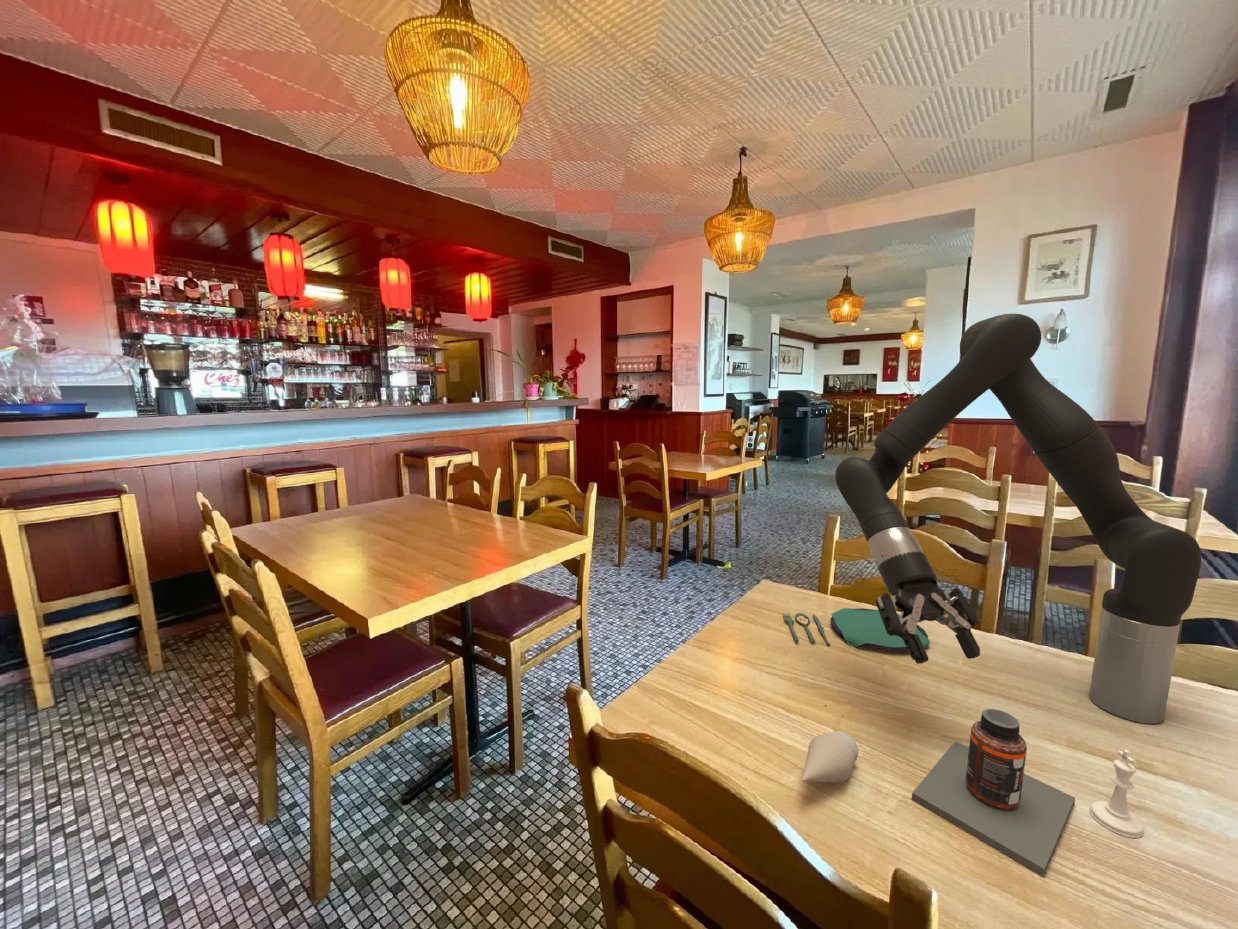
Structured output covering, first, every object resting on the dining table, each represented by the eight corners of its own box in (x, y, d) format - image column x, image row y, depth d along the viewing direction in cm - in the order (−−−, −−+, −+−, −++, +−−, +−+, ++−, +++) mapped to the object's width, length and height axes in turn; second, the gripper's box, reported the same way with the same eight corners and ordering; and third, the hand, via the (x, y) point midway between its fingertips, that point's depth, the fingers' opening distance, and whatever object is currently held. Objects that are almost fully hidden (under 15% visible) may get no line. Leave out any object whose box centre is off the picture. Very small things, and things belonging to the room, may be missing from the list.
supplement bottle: (1030, 816, 64) (1040, 736, 62) (977, 808, 65) (986, 729, 63) (1005, 780, 69) (1014, 706, 68) (957, 773, 71) (965, 701, 69)
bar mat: (954, 746, 77) (955, 741, 77) (1074, 804, 66) (1075, 797, 66) (911, 799, 68) (912, 792, 67) (1043, 877, 57) (1044, 869, 56)
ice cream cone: (794, 810, 66) (841, 769, 76) (833, 803, 62) (877, 761, 72) (772, 760, 68) (820, 727, 79) (808, 751, 65) (854, 717, 75)
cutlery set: (945, 661, 102) (946, 651, 102) (793, 650, 107) (794, 640, 107) (906, 618, 122) (906, 609, 121) (779, 610, 127) (780, 602, 126)
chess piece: (1114, 804, 66) (1125, 737, 65) (1155, 837, 61) (1167, 765, 60) (1079, 806, 66) (1088, 738, 65) (1117, 839, 61) (1128, 766, 60)
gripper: (872, 552, 79) (920, 656, 70) (952, 547, 81) (1009, 648, 72) (850, 572, 85) (892, 671, 76) (925, 567, 87) (974, 662, 78)
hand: (949, 659), depth 74 cm, fingers open, 8 cm apart
